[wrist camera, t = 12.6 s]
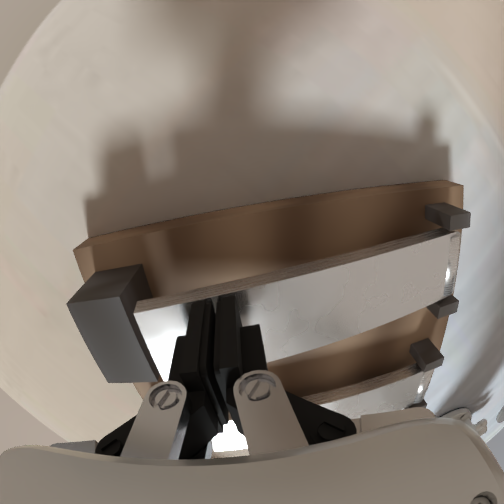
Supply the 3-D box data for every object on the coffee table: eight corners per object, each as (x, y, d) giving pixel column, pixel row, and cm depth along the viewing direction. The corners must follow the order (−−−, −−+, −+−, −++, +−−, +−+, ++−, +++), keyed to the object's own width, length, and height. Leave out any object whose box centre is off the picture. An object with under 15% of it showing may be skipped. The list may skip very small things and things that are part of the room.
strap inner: (429, 355, 17) (438, 366, 16) (418, 389, 19) (426, 400, 17) (200, 410, 17) (199, 426, 16) (215, 439, 18) (215, 453, 17)
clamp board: (444, 180, 16) (502, 198, 10) (417, 377, 22) (443, 417, 17) (88, 238, 16) (39, 277, 10) (173, 425, 22) (166, 474, 17)
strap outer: (448, 223, 14) (465, 230, 12) (442, 284, 15) (457, 294, 14) (137, 299, 12) (132, 316, 10) (166, 367, 13) (165, 386, 12)
